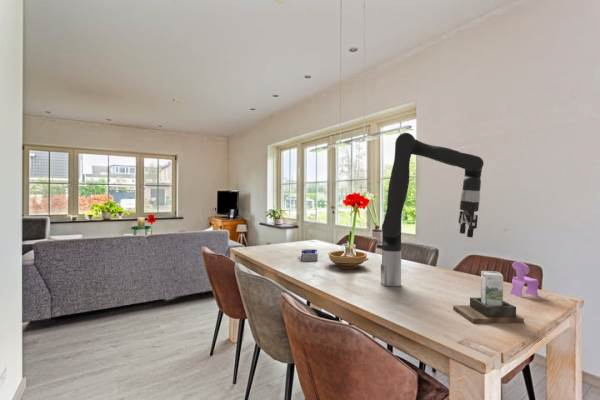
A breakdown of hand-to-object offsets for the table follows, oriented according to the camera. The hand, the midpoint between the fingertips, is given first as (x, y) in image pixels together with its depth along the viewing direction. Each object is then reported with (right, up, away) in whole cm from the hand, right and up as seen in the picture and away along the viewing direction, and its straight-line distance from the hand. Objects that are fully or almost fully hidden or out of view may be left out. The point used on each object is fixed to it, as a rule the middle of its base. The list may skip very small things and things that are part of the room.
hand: (465, 235), depth 140 cm
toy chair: (+24, -27, -4) cm, 36 cm away
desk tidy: (-70, -26, +77) cm, 107 cm away
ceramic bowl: (-46, -26, +52) cm, 75 cm away
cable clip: (-71, -26, +77) cm, 107 cm away
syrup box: (-6, -25, -28) cm, 38 cm away
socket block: (-7, -27, -28) cm, 39 cm away
